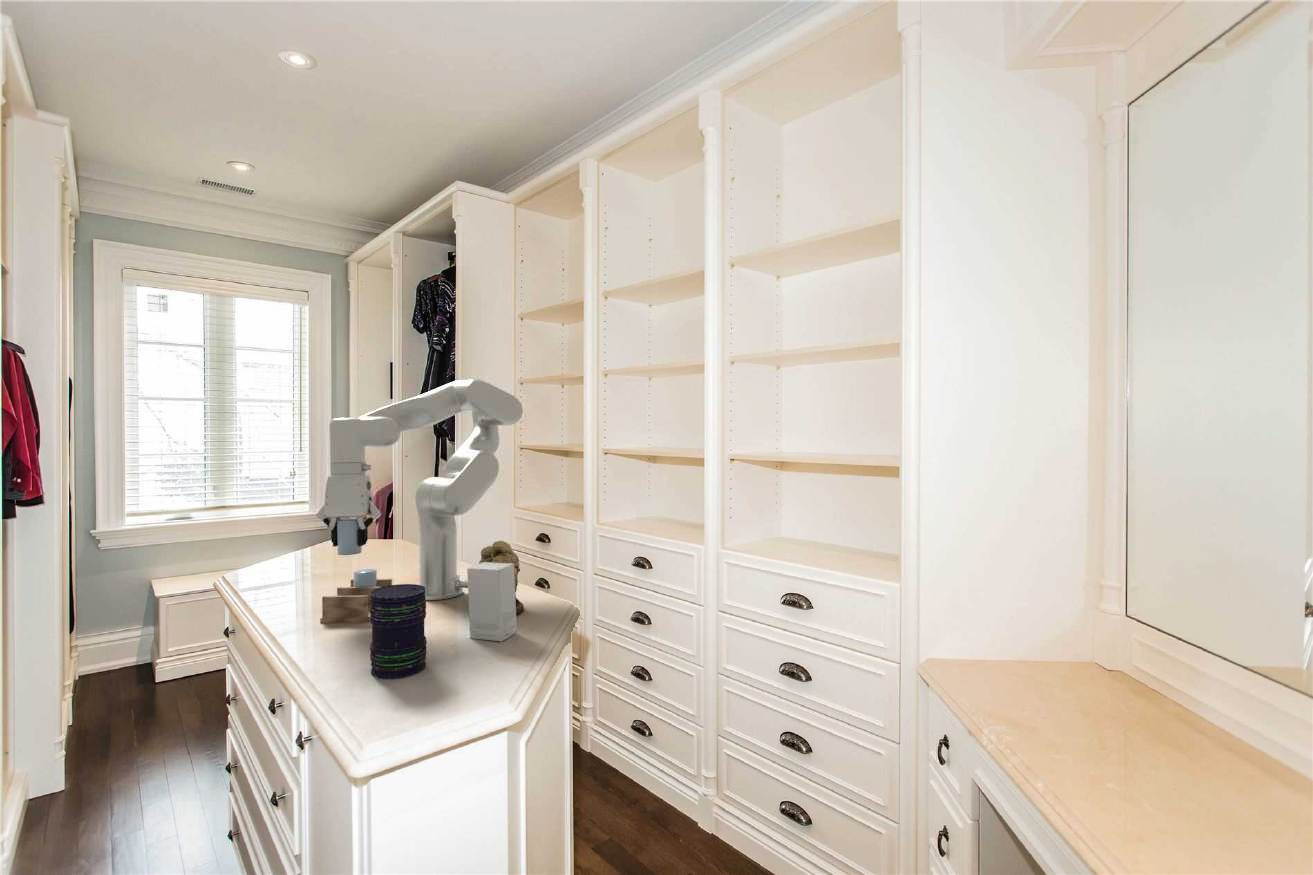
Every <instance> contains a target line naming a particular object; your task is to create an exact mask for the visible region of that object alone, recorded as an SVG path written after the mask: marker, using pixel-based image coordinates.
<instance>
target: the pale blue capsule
mask: <svg viewBox="0 0 1313 875" xmlns="http://www.w3.org/2000/svg"><path fill="white" fill-rule="evenodd" d="M377 571H378V570H377V569H373V568H365V569H359V570H355V571H354V572H353V579H354V587H377V579H378V577H377V575H378V574H377Z"/></svg>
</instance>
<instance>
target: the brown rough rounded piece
mask: <svg viewBox="0 0 1313 875" xmlns="http://www.w3.org/2000/svg"><path fill="white" fill-rule="evenodd" d="M482 562H491V563H511V564H514V573H515V600H516V617H518V616H520V615H522V614H523V613H524V611H525V608H524V604H523V602H521V601H520V600H519V599H518V598H517V594H516V593H517V589H518V588H517V587H518V585H519V580H518V575H519V573H520V571H521V568H520V565H521V564H520V558H519V556H518V554H517V553H515V551H514V550H513V548H512V546H511V544H510V543H508V542H506V541H504V540H497V541H494V542H493V543H492V545H488V546H486V547H483V548H482V549H481V550H480V560H479V562H478V564H480V563H482ZM521 613H522V614H521Z"/></svg>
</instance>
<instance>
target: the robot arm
mask: <svg viewBox="0 0 1313 875" xmlns="http://www.w3.org/2000/svg"><path fill="white" fill-rule="evenodd" d="M465 411H471V416H472V417H471V418H472V423H473V424H472V430H471V433H470V435H469V436H468V437H467V438H466V440H465V441H464V442H463V443H462V444H461V445H460V446H459V447H458V448H457V450H456V451H455V452H453V454H452V455H451V456H450V457H449V458H448V460H447V462H446V463H445V467H444V472H445V475H446V477H443V476H433V477H432V476H431V477H428V478H426V479H423V480H422V481H421V482H420V483H419V485H418V486H417V488H416V489H415V495H414V496H415V498H414V499H415V506H416V510H417V511H416V512H417V518H418V529H419V530H418V531H419V533H418V534H419V535H418V538H419V540H418V543H419V544H418V546H419V547H418V548H419V549H418V552H419V554H418V556H419V558H418V559H419V560H418V561H419V569H418V570H419V585H421V586H424V587H425V601H437V600H438V601H439V600H446V599H451V598H456V597H458V596H460V595H462V594H463V591H464V589H468V579H462V578H460V577H461V576H460V574H458V573H457V571H458V570H457V568H458V566H457V564H458V563H457V561H458V560H457V559H458V558H457V557H458V555H457V553H458V552H457V547H458V546H457V544H458V543H457V542H458V541H457V539H458V538H457V535H458V534H457V532H458V531H457V523H456V518H455V516H463V515H465V514H467V513H468V512H470V510H472V509H473V508H474V507H475V506H476V505H477V503H478V502H479V501H480V500H481V499H482V498H483V496H484V495H485V494H486V493H487V492H488V490H489V489H490V488H491V487H492V486H493V484H494V483H495V481H496V480H497V478H498V475H499V470H500V465H499V460H498V458H497V457H496V456H495V453H496V452H497V450H498V448H499V445H500V434H499V426H512V425H515V424H517V423H518V422H520V420H521V418H522V417H523V413H524V412H523V406H522V403H521V402H520V400H519V399H518V398H517V397H516V396H515V395H513V394H511V393H509V392H507V391H505V390H503V389H501V388H499V387H497V386H495V385H493V384H491V383H489V382H487V381H484V380H482V379H477V378H476V379H475V378H473V379H472V378H471V379H457V380H454V381H451V382H449V383H446V384H444V385H441V386H439V387H436V388H435V389H432V390H430V391H427V392H424V393H422V394H419V395H417V396H414V397H410V398H407V399H405V400H402V401H399V402H395V403H393V404H390V405H386V406H383V407H380V408H378V409H376V410H374V411H371V412H368V413H366V414H364V415H361V416H359V417H337V418H336V417H334V418H332V419H331V420H330V422H329V455H330V456H329V458H330V461H329V462H330V463H329V464H330V466H329V467H330V475H327V480H326V484H325V490H324V491H325V492H324V493H325V494H324V504H323V506H322V507H321V508H320V509H319V511H318V512H317V513H316V517H317V518H318V519H320V520H321V521H323V523H324V524H325V525H326V526H327V527H328V530H330V533H331V534H330V536H331V537H330V538H331V540H330V541H331V543H332V547H333V548H334V547H336V548H337V547H338V545H337V520H339V519H345V518H357V521H358V524H359V527H360V529H359V530H358V546H362V547H363V546H365V545H366V544H367V543H368V540H369V539H368V538H369V536H368V534H369V532H368V531H369V530H368V528H369V527H370V526H371V525H372V524H373V523H375V521H376V520H377V519H379V517H380V516H382V512H381V510H380V509H378V507H377V506H376V505H375V503H374V502H375V500H374V491H373V487H372V480H371V477H370V474H366V473H367V472H368V471H370V470H372V465H371V464H367V461H366V447H370V448H371V447H373V448H388V447H392V446H393V445H395V444H396V443H398V441H400V438H401V435H402V432H404V431H409V430H416V429H422V428H423V429H424V428H427V427H430V426H435V425H436V424H438V423H440V422H443V421H445V420H447V419H449V418H451V417H453V416H456V415H458V414H460V413H462V412H465ZM367 515H371V516H369V517H368V516H367Z"/></svg>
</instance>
